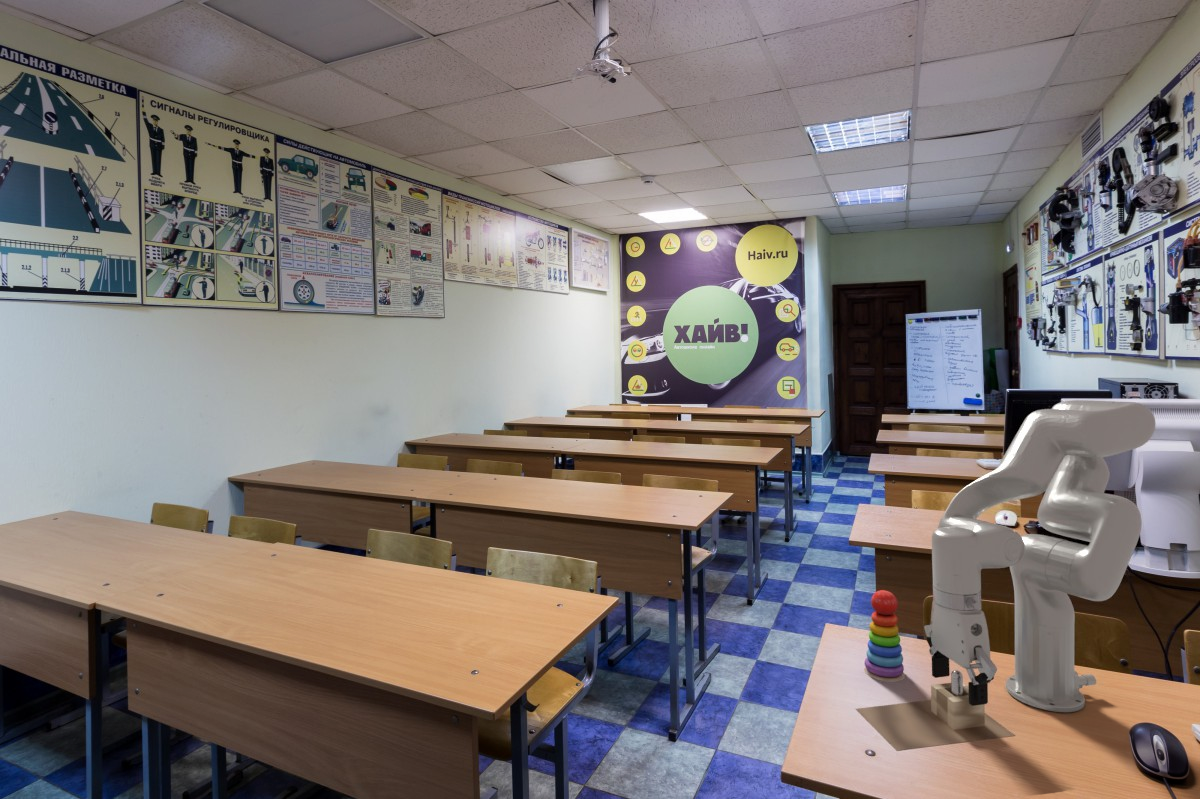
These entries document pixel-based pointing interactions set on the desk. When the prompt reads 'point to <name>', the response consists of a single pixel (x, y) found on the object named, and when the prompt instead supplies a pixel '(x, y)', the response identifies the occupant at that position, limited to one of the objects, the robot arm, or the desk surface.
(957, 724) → the wooden square holder
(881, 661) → the stacking toy
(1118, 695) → the desk surface
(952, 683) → the grey glassy cylinder
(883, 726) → the brown rectangular board
